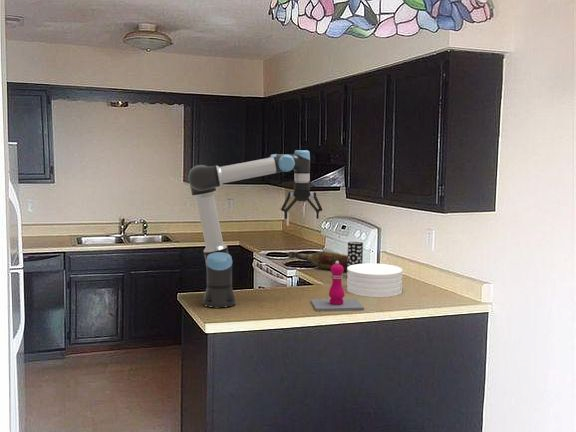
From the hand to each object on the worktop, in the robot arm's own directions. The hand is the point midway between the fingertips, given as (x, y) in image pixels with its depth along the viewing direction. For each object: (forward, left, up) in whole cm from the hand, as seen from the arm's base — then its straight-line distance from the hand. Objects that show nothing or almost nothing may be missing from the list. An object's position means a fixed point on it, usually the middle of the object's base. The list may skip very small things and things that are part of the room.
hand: (301, 225), depth 298 cm
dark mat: (+14, -22, -35) cm, 43 cm away
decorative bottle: (+20, +64, -35) cm, 75 cm away
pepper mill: (+14, -22, -34) cm, 43 cm away
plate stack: (+39, +7, -35) cm, 53 cm away
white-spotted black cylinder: (+35, +35, -35) cm, 61 cm away
